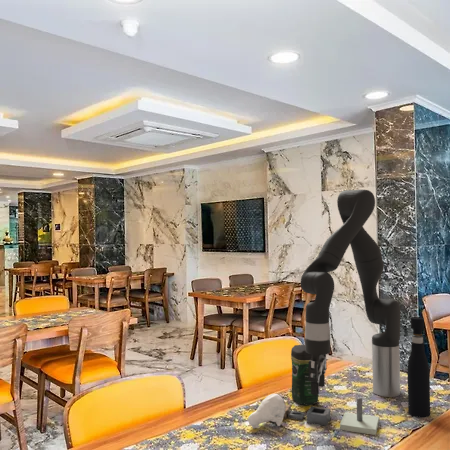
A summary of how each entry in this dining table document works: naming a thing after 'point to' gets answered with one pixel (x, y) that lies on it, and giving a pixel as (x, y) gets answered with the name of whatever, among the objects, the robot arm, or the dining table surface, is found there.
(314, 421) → the link
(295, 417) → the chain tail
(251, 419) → the white lumpy piece
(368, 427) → the peg stand
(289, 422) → the dining table surface
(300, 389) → the coffee jar
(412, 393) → the black water bottle
